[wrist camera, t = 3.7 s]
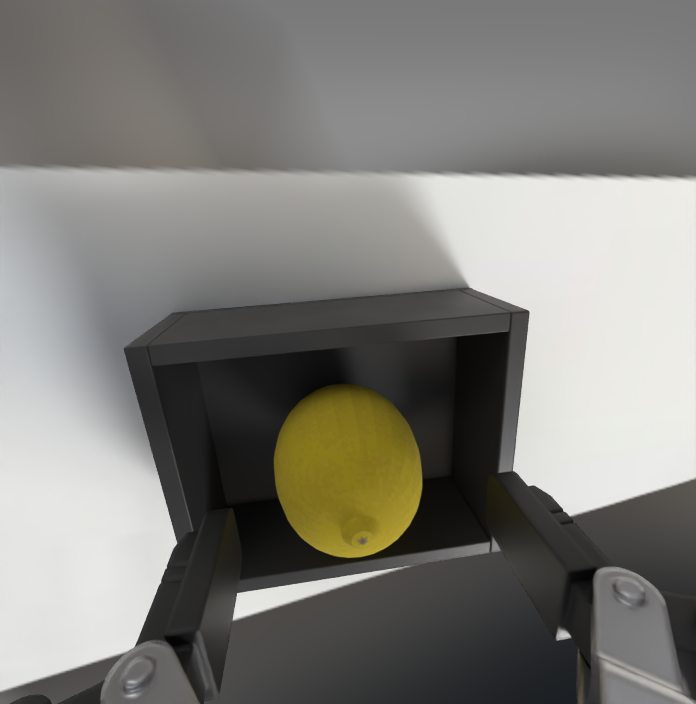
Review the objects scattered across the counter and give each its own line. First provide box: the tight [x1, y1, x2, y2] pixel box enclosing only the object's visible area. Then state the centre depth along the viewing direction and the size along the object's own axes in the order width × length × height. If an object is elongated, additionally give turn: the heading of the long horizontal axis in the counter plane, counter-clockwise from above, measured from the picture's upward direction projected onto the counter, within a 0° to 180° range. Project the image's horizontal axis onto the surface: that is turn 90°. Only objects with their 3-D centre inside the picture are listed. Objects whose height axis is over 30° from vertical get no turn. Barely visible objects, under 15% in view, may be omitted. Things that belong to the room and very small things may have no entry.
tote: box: [124, 288, 529, 593], centre depth 16 cm, size 13×11×5 cm
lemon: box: [274, 383, 422, 558], centre depth 14 cm, size 6×6×8 cm
